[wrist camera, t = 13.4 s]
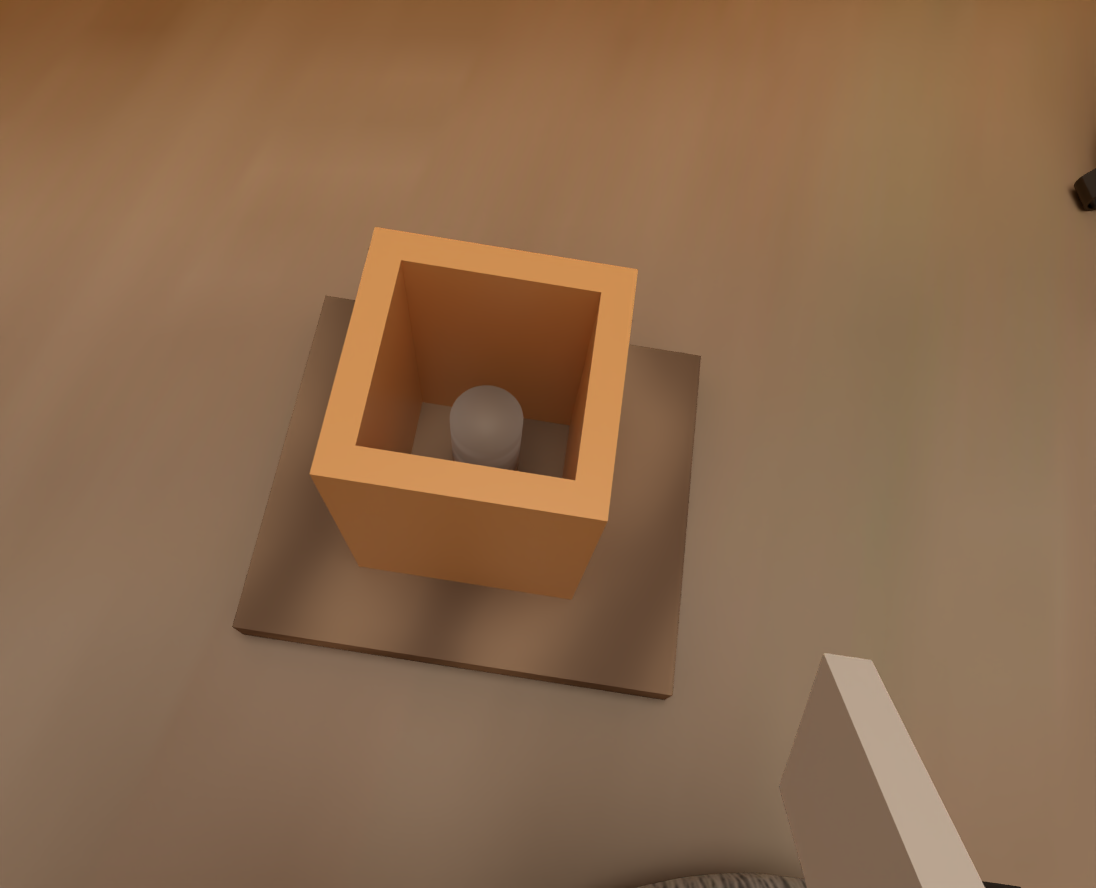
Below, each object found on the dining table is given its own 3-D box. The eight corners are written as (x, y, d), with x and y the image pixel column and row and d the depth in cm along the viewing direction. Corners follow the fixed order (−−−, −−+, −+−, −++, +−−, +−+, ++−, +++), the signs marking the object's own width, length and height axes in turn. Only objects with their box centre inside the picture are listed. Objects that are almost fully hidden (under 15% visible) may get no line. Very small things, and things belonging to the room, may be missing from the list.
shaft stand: (243, 633, 32) (178, 590, 25) (331, 314, 38) (297, 205, 31) (664, 699, 33) (713, 674, 26) (692, 371, 38) (740, 277, 31)
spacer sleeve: (358, 566, 32) (309, 474, 23) (403, 376, 35) (374, 226, 26) (571, 599, 32) (607, 521, 23) (596, 407, 35) (637, 269, 26)
